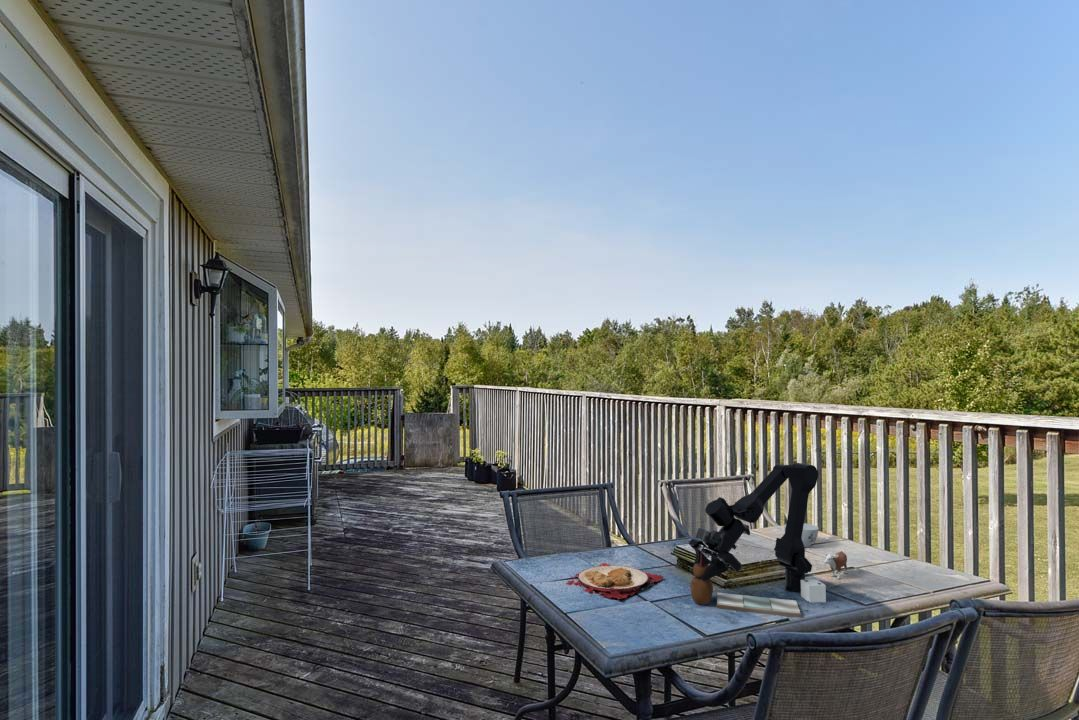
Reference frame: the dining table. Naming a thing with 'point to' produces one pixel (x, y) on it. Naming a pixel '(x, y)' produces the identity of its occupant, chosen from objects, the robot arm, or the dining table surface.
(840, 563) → the bull figurine
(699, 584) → the wooden figurine
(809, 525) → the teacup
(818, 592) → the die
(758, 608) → the board
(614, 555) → the dining table surface
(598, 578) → the plate with food
